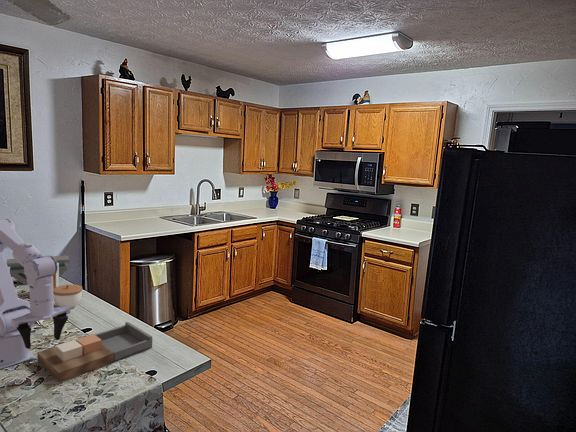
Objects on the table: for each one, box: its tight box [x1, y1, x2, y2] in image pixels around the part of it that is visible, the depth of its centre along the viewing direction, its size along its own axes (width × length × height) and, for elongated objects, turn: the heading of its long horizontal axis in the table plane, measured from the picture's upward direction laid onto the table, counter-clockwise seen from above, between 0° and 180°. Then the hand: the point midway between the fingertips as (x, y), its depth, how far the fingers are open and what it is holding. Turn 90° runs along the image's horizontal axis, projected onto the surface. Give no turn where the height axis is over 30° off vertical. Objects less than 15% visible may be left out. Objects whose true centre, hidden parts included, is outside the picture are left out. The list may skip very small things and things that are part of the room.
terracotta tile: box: [75, 333, 102, 354], centre depth 123 cm, size 6×6×3 cm
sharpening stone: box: [6, 255, 70, 286], centre depth 185 cm, size 25×8×11 cm, turn 123°
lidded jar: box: [53, 284, 83, 310], centre depth 160 cm, size 11×11×9 cm
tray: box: [94, 321, 153, 363], centre depth 132 cm, size 13×16×4 cm
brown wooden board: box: [36, 339, 115, 383], centre depth 120 cm, size 16×16×3 cm
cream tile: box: [55, 339, 82, 362], centre depth 118 cm, size 6×6×3 cm
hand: (42, 343), depth 112 cm, fingers open, 7 cm apart
